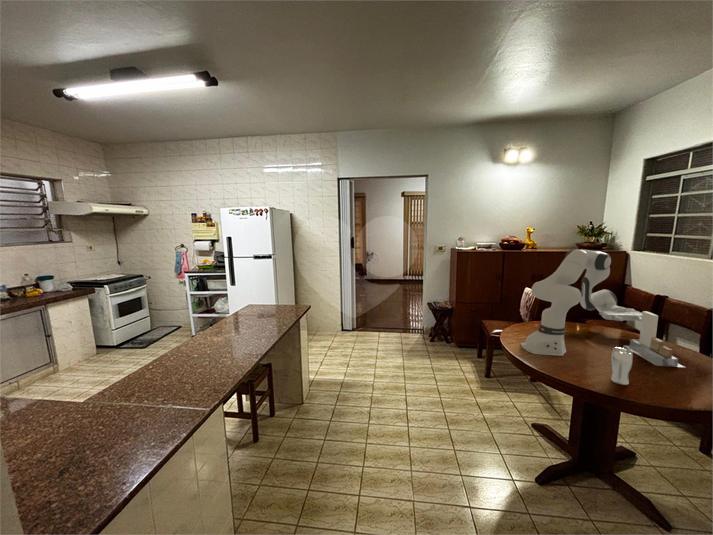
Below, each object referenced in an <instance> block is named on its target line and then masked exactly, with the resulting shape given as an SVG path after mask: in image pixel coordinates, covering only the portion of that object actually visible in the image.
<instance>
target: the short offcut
mask: <svg viewBox="0 0 713 535" xmlns="http://www.w3.org/2000/svg"><path fill="white" fill-rule="evenodd" d="M659 354H661V355H663V356H664V357H666V358H672V356H673V349H672V348H670V347H667V346H666V345H664V346H660V347H659Z"/></svg>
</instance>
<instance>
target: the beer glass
mask: <svg viewBox="0 0 713 535" xmlns="http://www.w3.org/2000/svg"><path fill="white" fill-rule="evenodd" d="M633 353H634V352H633V351H631V350H629V349H628V348H626V347H617V346H616V347H613V348H612V353H611V368H612V374H611V378H610V380H611V381H612V382H613V383H615V384H618V385H623V386H628V385H629V384H630V382H629V381H630V380H629V375H630V371H631V369H632V366H633V360H634V359H633V357H634V355H633Z"/></svg>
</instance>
